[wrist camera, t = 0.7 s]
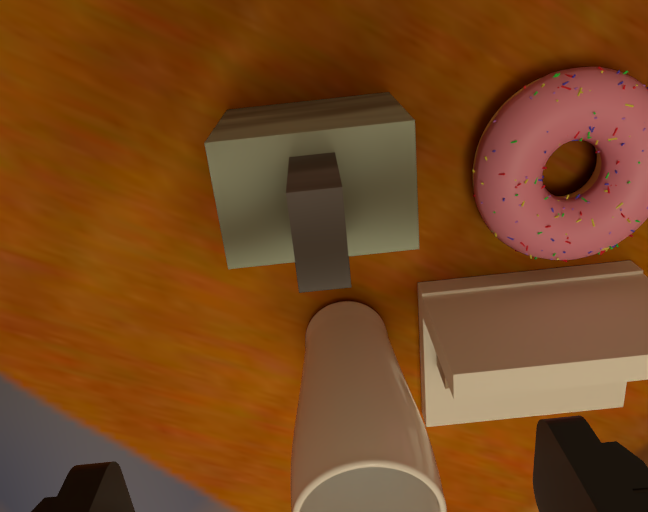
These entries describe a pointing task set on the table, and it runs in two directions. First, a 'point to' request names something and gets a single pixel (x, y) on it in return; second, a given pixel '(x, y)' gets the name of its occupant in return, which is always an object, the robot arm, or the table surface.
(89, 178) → the table surface
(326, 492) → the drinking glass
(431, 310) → the stand
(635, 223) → the doughnut
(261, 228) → the olive boxy piece
